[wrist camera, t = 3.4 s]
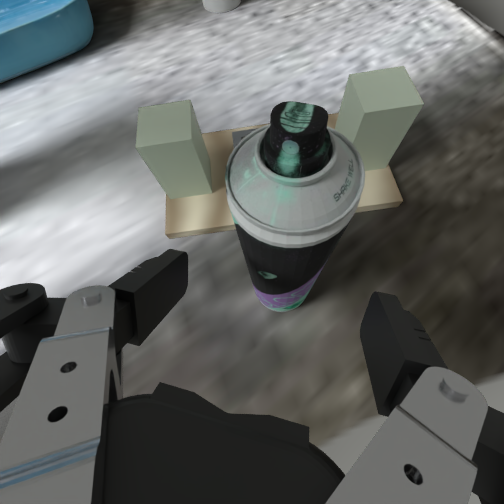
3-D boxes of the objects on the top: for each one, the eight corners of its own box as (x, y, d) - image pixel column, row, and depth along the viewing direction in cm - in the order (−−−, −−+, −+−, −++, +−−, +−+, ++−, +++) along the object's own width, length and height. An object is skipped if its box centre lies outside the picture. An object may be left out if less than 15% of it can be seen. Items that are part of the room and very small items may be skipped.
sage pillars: (170, 199, 29) (135, 147, 22) (170, 165, 31) (138, 107, 24) (385, 168, 29) (424, 103, 21) (372, 135, 31) (403, 65, 23)
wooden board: (169, 238, 29) (165, 234, 28) (170, 146, 34) (167, 139, 33) (398, 206, 28) (403, 200, 27) (362, 116, 33) (365, 108, 32)
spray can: (261, 318, 25) (226, 216, 6) (249, 267, 27) (194, 77, 8) (315, 304, 25) (436, 163, 6) (298, 254, 27) (353, 38, 8)
